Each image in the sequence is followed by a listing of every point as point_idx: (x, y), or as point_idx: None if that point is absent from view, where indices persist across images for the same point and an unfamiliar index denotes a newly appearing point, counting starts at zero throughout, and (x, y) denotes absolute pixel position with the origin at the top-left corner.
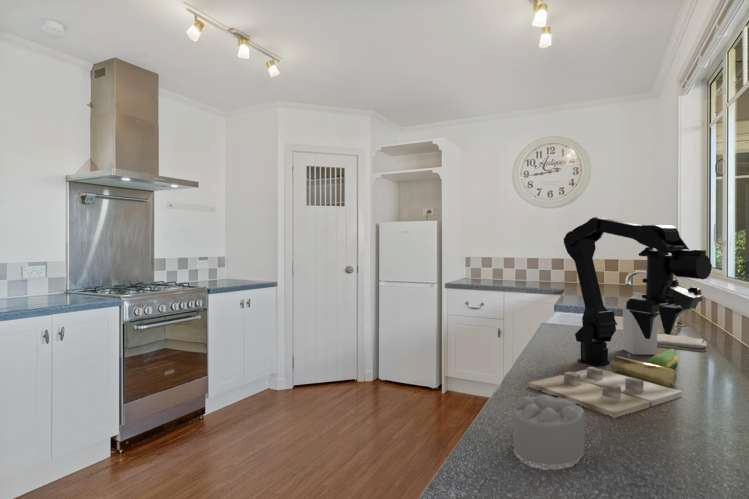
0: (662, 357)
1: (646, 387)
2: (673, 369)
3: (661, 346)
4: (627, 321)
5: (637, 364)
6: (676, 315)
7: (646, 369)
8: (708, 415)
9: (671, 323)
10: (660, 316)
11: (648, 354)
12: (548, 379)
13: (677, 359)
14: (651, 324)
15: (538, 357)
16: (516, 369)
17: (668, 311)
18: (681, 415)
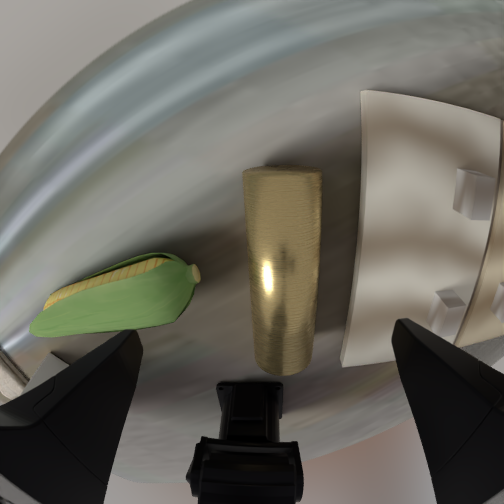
0: (145, 297)
1: (423, 179)
2: (268, 177)
3: (12, 365)
4: None
5: (308, 298)
6: (24, 415)
7: (317, 256)
8: (435, 6)
9: (92, 383)
10: (111, 465)
11: (65, 363)
12: (496, 331)
13: (55, 294)
14: (482, 374)
15: (323, 443)
16: None
17: (61, 479)
18: (484, 52)
